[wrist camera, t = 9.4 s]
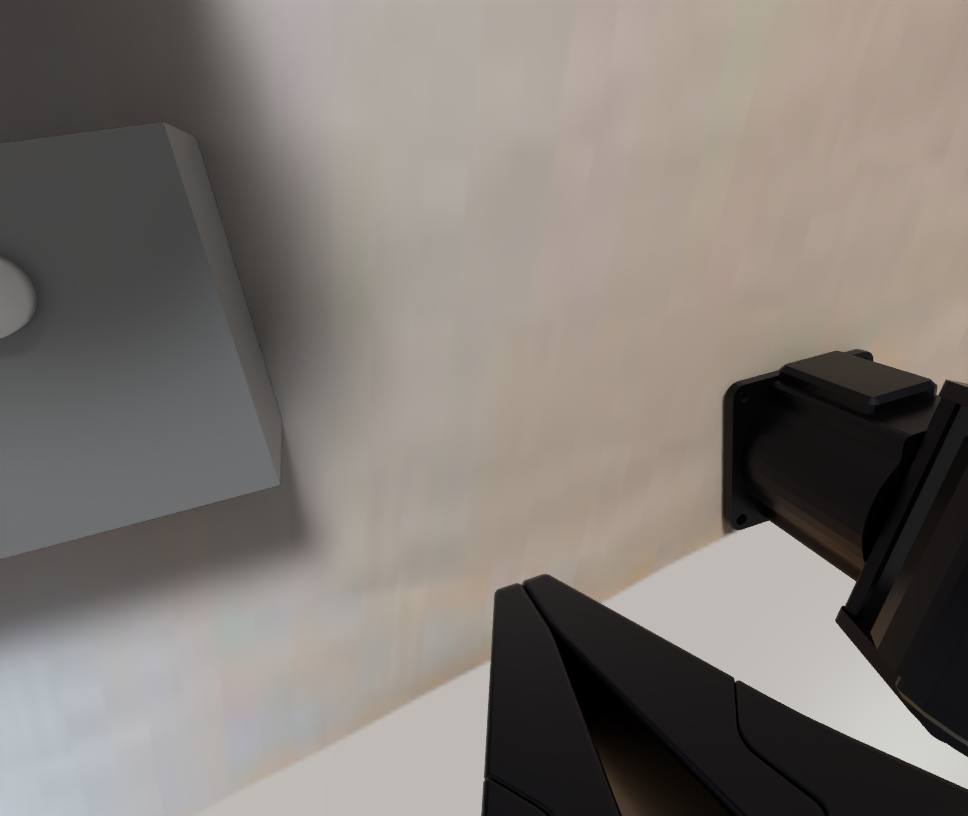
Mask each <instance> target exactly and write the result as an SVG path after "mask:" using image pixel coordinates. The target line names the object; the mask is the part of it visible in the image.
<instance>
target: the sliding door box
mask: <svg viewBox="0 0 968 816" xmlns="http://www.w3.org/2000/svg"><path fill="white" fill-rule="evenodd" d="M281 437H282V418H281V414H280V411H279V408H278V405H277V401H276V398H275V395H274V391H273V388H272V385H271V381H270V378H269V375H268V372H267V368H266V365H265V362H264V358H263V355H262V352H261V349H260V345H259V342H258V339H257V335H256V332H255V329H254V326H253V322H252V319H251V316H250V312H249V309H248V306H247V303H246V299H245V296H244V293H243V289H242V286H241V283H240V280H239V276H238V273H237V270H236V266H235V263H234V260H233V257H232V253H231V250H230V247H229V243H228V240H227V237H226V234H225V230H224V227H223V224H222V220H221V217H220V214H219V211H218V207H217V204H216V201H215V197H214V194H213V191H212V188H211V184H210V181H209V178H208V174H207V171H206V168H205V165H204V161H203V158H202V155H201V151H200V148H199V145H198V141H197V138H196V137H194V136H192V135H190V134H188V133H186V132H184V131H182V130H180V129H178V128H176V127H173V126H171V125H169V124H167V123H165V122H156V123H149V124H141V125H134V126H126V127H119V128H111V129H104V130H96V131H89V132H81V133H74V134H66V135H59V136H51V137H44V138H36V139H29V140H21V141H13V142H6V143H0V559H3V558H7V557H10V556H14V555H18V554H22V553H26V552H29V551H33V550H37V549H41V548H44V547H48V546H52V545H56V544H60V543H63V542H67V541H71V540H75V539H78V538H82V537H86V536H90V535H94V534H97V533H101V532H105V531H109V530H112V529H116V528H120V527H124V526H128V525H131V524H135V523H139V522H143V521H147V520H150V519H154V518H158V517H162V516H165V515H169V514H173V513H177V512H181V511H184V510H188V509H192V508H196V507H199V506H203V505H207V504H211V503H215V502H218V501H222V500H226V499H230V498H233V497H237V496H241V495H245V494H249V493H252V492H256V491H260V490H264V489H267V488H271V487H275V486H279V485H280V467H281Z"/></svg>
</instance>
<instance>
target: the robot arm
mask: <svg viewBox="0 0 968 816" xmlns="http://www.w3.org/2000/svg"><path fill="white" fill-rule="evenodd" d="M741 392H743V395H742V397H741V398H740V399H739V395H740V394H741ZM936 392H937V384H935V383H934V382H933V381H932V380H931V379H928V378H925V377H922V376H919V375H915V374H912V373H909V372H906V371H902V370H899V369H896V368H893V367H889V366H886V365H883V364H879V363H876V362H873V356H872V354H871V353H870V352H867V351H864V350H861V349H855V350H852V351H848V352H840V351H833V352H830V353H826V354H822V355H819V356H815V357H811V358H807V359H804V360H800V361H796V362H793V363H789V364H786V365H784V366H783V367H782V368H780V370H778V371H774V372H771V373H767V374H763V375H760V376H756V377H752V378H749V379H745V380H741V381H738V382H736V383H733V384H732V385H731V386H730V387H729V389H728V391H727V395H726V474H725V520H726V522H727V524H728V525H730V526H731V527H732V528H734V529H736V530H742V529H745V528H748V527H751V526H754V525H757V524H760V523H762V522H766V521H769V520H770V521H771V522H773V523H774V524H775V525H777V526H778V527H780V528H781V529H783V530H784V531H785V532H787V533H788V534H790V535H791V536H792V537H794V538H795V539H797V540H798V541H800V542H801V543H802V544H804V545H805V546H807V547H808V548H809V549H811V550H812V551H814V552H815V553H817V554H818V555H819V556H821V557H822V558H824V559H825V560H827V561H828V562H829V563H831V564H832V565H834V566H835V567H836V568H838V569H839V570H841V571H842V572H844V573H845V574H846V575H848V576H849V577H851V578H852V579H854V580H855V581H856V584H855V586H854V588H853V590H852V592H851V595H850V597H849V599H848V601H847V603H846V606H842V607H841V609H840V611H839V613H838V615H837V618H836V620H835V621H836V623H837V624H838V625H839V626H840V628H841V629H842V630H843V631H844V632H845V633H846V635H847V636H848V637H849V638H850V640H851V641H852V642H853V643H854V644H855V646H856V647H857V648H858V649H859V650H860V652H861V653H862V654H863V655H864V657H865V658H866V659H867V660H868V661H869V663H870V664H871V665H872V666H873V667H874V669H875V670H876V671H877V672H878V673H879V674H880V676H881V677H882V678H883V679H884V681H885V682H886V683H887V684H888V685H889V687H890V688H891V689H892V690H893V691H894V693H895V694H896V695H897V696H898V697H899V699H900V700H901V701H902V702H903V704H904V705H905V706H906V707H907V708H908V710H909V711H910V712H911V713H912V714H913V715H914V716H915V717H916V718H917V719H918V720H919V721H920V722H921V724H922V725H923V726H924V727H925V728H926V729H927V731H928V732H929V733H930V734H931V735H932V736H934V737H935V738H937V739H938V740H940V741H942V742H944V743H947V744H948V745H950V746H951V747H953V748H954V749H956V750H957V751H959V752H960V753H962V754H964V755H965V756H967V757H968V384H965V383H960V382H955V381H951V380H945V382H944V385H943V387H942V389H941V391H940V393H939V395H936ZM738 517H739V518H738ZM737 518H738V519H737ZM488 702H489V703H488V718H487V736H486V753H485V772H484V778H485V781H484V783H483V799H482V814H481V816H968V789H966V788H963V787H961V786H959V785H957V784H954V783H952V782H950V781H948V780H945V779H943V778H941V777H938V776H936V775H934V774H932V773H930V772H927V771H925V770H923V769H921V768H919V767H916V766H914V765H912V764H910V763H907V762H905V761H903V760H901V759H898V758H896V757H894V756H892V755H889V754H887V753H885V752H883V751H880V750H878V749H876V748H874V747H871V746H869V745H867V744H865V743H863V742H860V741H858V740H856V739H853V738H851V737H849V736H847V735H845V734H843V733H840V732H839V731H836V730H834V729H832V728H830V727H828V726H826V725H824V724H822V723H819V722H817V721H815V720H813V719H811V718H809V717H807V716H805V715H803V714H801V713H799V712H797V711H795V710H793V709H791V708H789V707H787V706H786V705H784V704H782V703H780V702H778V701H776V700H774V699H772V698H770V697H768V696H767V695H765V694H763V693H761V692H759V691H757V690H756V689H754V688H752V687H750V686H748V685H746V684H745V683H743V682H741V681H736V682H735V681H734V678H733V677H732V676H730V675H728V674H726V673H725V672H723V671H721V670H719V669H717V668H716V667H714V666H712V665H710V664H708V663H707V662H705V661H703V660H701V659H699V658H698V657H696V656H694V655H692V654H690V653H689V652H687V651H685V650H683V649H681V648H680V647H678V646H676V645H674V644H672V643H671V642H669V641H667V640H665V639H663V638H662V637H660V636H658V635H656V634H654V633H653V632H651V631H649V630H647V629H645V628H644V627H642V626H640V625H638V624H637V623H635V622H633V621H631V620H629V619H628V618H626V617H624V616H622V615H620V614H618V613H617V612H615V611H613V610H611V609H609V608H608V607H606V606H604V605H602V604H601V603H599V602H597V601H595V600H593V599H592V598H590V597H588V596H586V595H584V594H583V593H581V592H579V591H577V590H575V589H574V588H572V587H570V586H568V585H566V584H565V583H563V582H561V581H559V580H557V579H556V578H554V577H552V576H550V575H547V574H542V575H539V576H536V577H533V578H530V579H527V580H525V581H524V582H523V583H522V585H521V584H518V583H515V584H512V585H509V586H506V587H503V588H500V589H498V590H497V591H496V592H495V595H494V613H493V630H492V648H491V665H490V684H489V701H488Z"/></svg>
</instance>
